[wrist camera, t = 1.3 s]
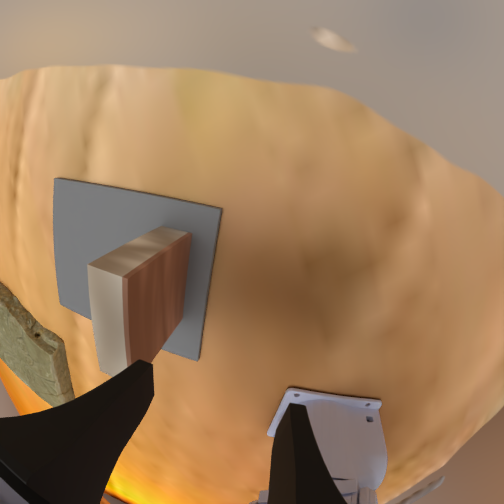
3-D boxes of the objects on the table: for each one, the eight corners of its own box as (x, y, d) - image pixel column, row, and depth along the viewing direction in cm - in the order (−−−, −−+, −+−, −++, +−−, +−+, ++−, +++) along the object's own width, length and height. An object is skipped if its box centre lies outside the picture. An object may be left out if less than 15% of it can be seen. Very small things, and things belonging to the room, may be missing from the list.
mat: (222, 208, 18) (220, 209, 18) (199, 358, 22) (197, 361, 22) (58, 177, 19) (54, 178, 19) (63, 302, 24) (60, 304, 23)
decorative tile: (80, 410, 32) (69, 424, 29) (6, 348, 33) (-5, 357, 29) (68, 332, 26) (50, 347, 22) (-12, 264, 26) (-27, 272, 23)
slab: (192, 233, 18) (127, 278, 11) (182, 318, 21) (134, 386, 13) (161, 225, 19) (87, 264, 11) (155, 309, 21) (100, 370, 13)
